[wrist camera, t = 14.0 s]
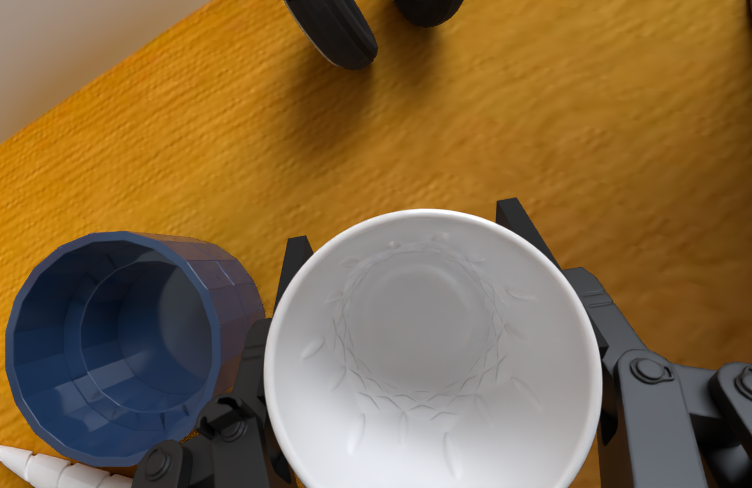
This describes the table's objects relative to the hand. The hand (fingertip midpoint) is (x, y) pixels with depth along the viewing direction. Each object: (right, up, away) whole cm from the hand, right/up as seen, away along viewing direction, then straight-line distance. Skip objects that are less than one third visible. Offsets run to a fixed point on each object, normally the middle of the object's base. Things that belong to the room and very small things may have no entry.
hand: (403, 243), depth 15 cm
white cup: (+1, -4, +4) cm, 5 cm away
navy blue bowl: (-17, -7, +14) cm, 23 cm away
